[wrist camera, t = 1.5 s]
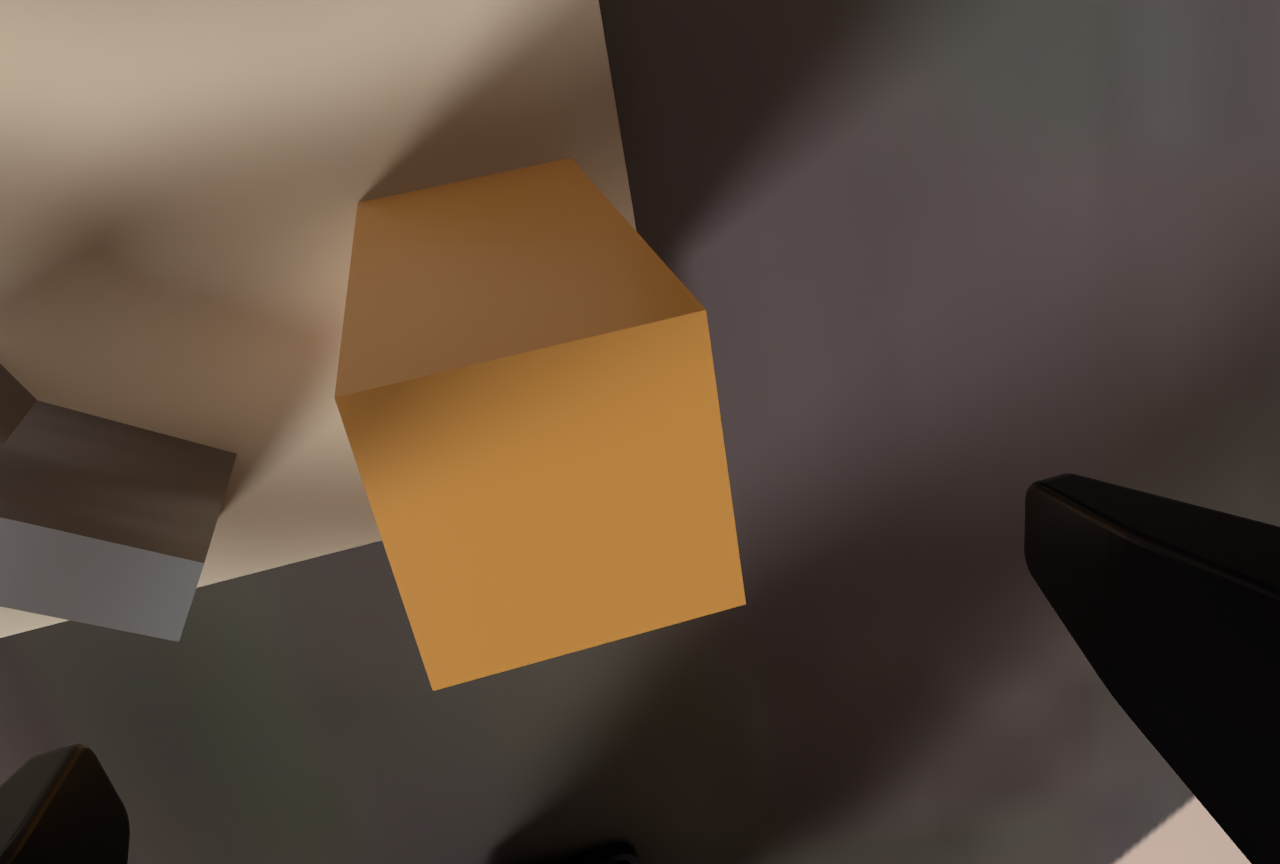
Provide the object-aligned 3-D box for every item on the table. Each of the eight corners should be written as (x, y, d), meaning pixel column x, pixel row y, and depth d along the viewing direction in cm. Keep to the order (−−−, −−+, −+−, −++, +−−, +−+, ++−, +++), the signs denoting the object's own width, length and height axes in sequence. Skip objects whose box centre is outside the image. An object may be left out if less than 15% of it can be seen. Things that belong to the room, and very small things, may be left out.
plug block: (607, 351, 20) (746, 603, 13) (415, 398, 20) (432, 691, 12) (571, 157, 19) (705, 310, 11) (357, 202, 18) (334, 397, 10)
